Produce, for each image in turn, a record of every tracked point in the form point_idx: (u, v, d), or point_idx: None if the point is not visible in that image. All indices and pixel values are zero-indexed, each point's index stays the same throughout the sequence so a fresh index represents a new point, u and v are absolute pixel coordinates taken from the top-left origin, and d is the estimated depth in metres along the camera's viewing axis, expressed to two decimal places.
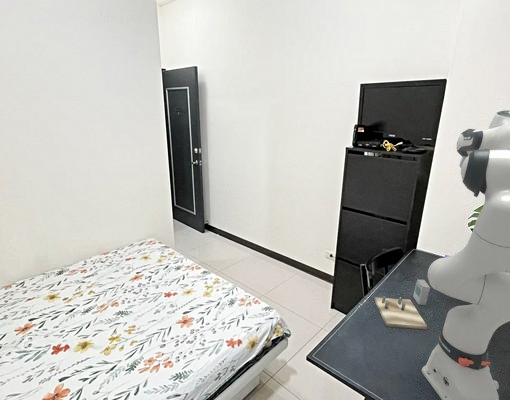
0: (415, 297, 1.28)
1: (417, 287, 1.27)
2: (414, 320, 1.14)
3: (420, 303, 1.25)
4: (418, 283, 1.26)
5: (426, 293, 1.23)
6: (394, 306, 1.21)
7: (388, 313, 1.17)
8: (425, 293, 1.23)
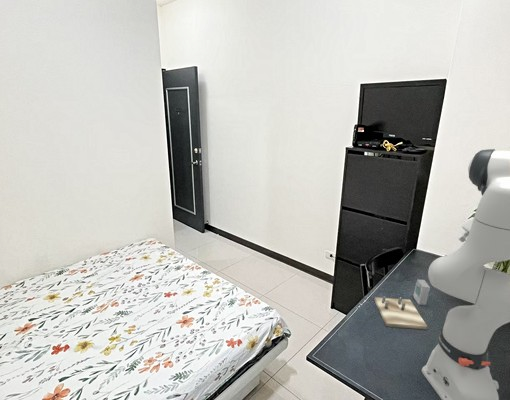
0: (415, 297, 1.28)
1: (417, 287, 1.27)
2: (414, 320, 1.14)
3: (420, 303, 1.25)
4: (418, 283, 1.26)
5: (426, 293, 1.23)
6: (394, 306, 1.21)
7: (388, 313, 1.17)
8: (425, 293, 1.23)
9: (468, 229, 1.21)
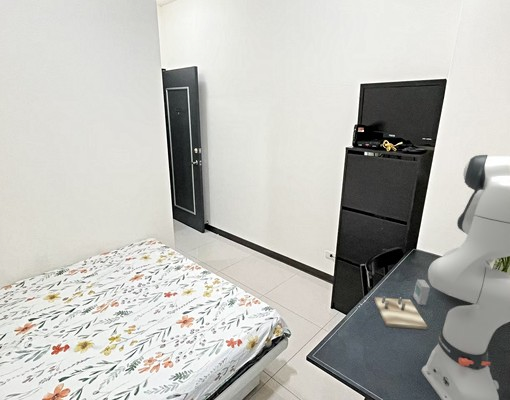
0: (415, 297, 1.28)
1: (417, 287, 1.27)
2: (414, 320, 1.14)
3: (420, 303, 1.25)
4: (418, 283, 1.26)
5: (426, 293, 1.23)
6: (394, 306, 1.21)
7: (388, 313, 1.17)
8: (425, 293, 1.23)
9: None
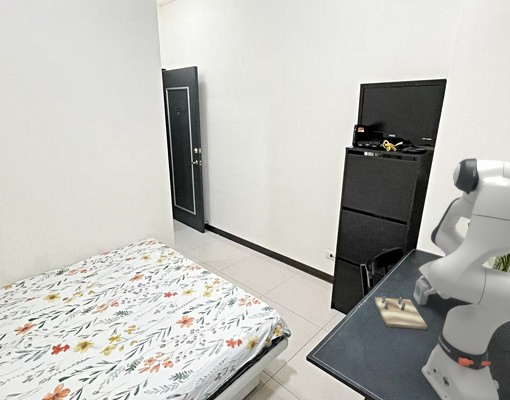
0: (415, 297, 1.28)
1: (417, 287, 1.27)
2: (414, 320, 1.14)
3: (420, 303, 1.25)
4: (418, 283, 1.26)
5: None
6: (394, 306, 1.21)
7: (388, 313, 1.17)
8: None
9: (423, 273, 1.29)
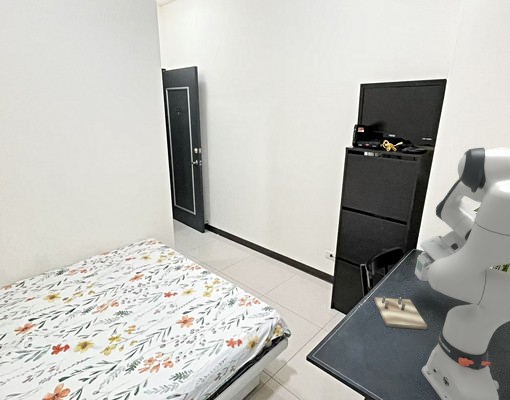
0: (416, 273, 1.23)
1: (419, 262, 1.21)
2: (414, 320, 1.14)
3: (422, 279, 1.20)
4: (420, 258, 1.21)
5: None
6: (394, 306, 1.21)
7: (388, 313, 1.17)
8: None
9: (425, 248, 1.24)
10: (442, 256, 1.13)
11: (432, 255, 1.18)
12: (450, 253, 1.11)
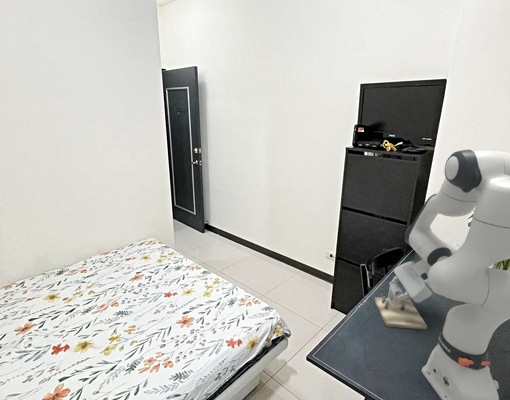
0: None
1: (390, 291, 1.21)
2: (414, 320, 1.14)
3: (393, 308, 1.19)
4: (391, 287, 1.20)
5: None
6: None
7: (388, 313, 1.17)
8: None
9: (397, 274, 1.23)
10: (412, 285, 1.13)
11: (403, 283, 1.17)
12: (420, 283, 1.10)
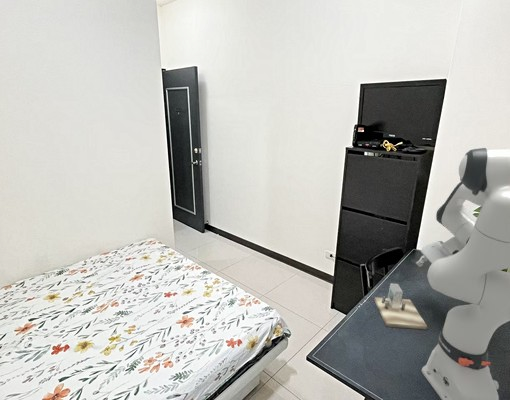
0: None
1: (390, 291, 1.21)
2: (414, 320, 1.14)
3: (393, 308, 1.19)
4: (391, 287, 1.20)
5: (399, 298, 1.17)
6: None
7: (388, 313, 1.17)
8: (398, 297, 1.17)
9: (425, 254, 1.20)
10: None
11: (433, 262, 1.14)
12: None
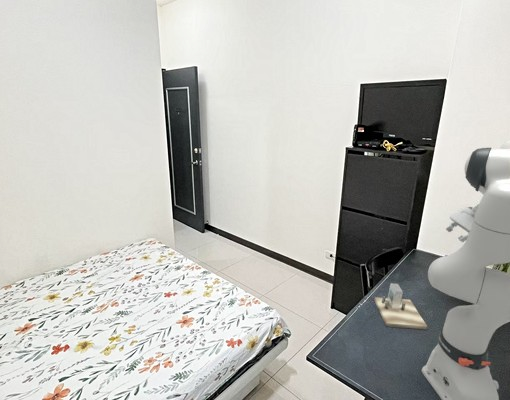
0: None
1: (390, 291, 1.21)
2: (414, 320, 1.14)
3: (393, 308, 1.19)
4: (391, 287, 1.20)
5: (399, 298, 1.17)
6: None
7: (388, 313, 1.17)
8: (398, 297, 1.17)
9: (455, 219, 1.22)
10: None
11: (464, 225, 1.16)
12: None
